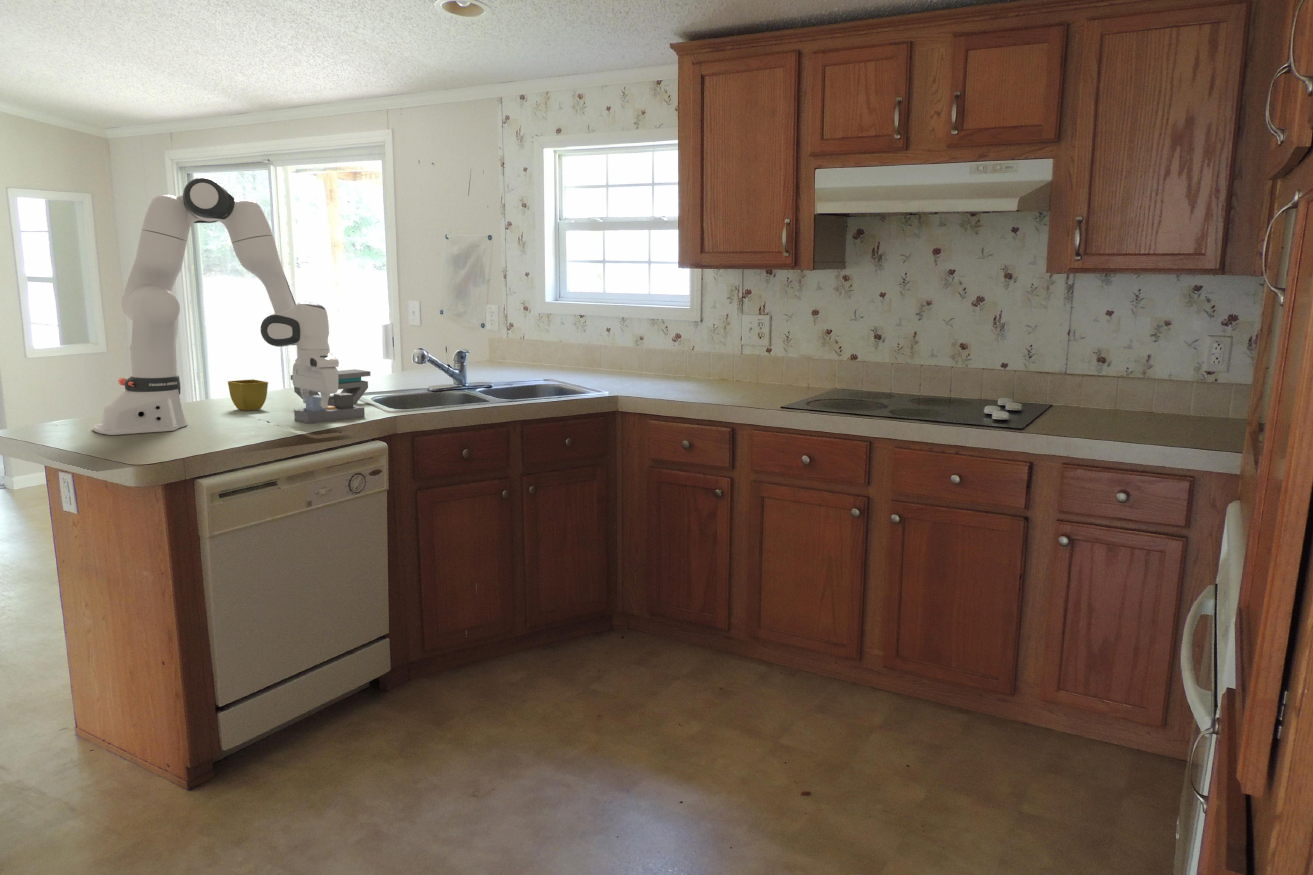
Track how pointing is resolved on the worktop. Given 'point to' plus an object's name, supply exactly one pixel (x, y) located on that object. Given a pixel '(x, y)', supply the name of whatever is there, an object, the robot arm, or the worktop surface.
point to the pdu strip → (329, 414)
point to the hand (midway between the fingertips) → (315, 405)
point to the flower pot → (248, 393)
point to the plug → (313, 403)
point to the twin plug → (343, 400)
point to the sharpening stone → (346, 385)
